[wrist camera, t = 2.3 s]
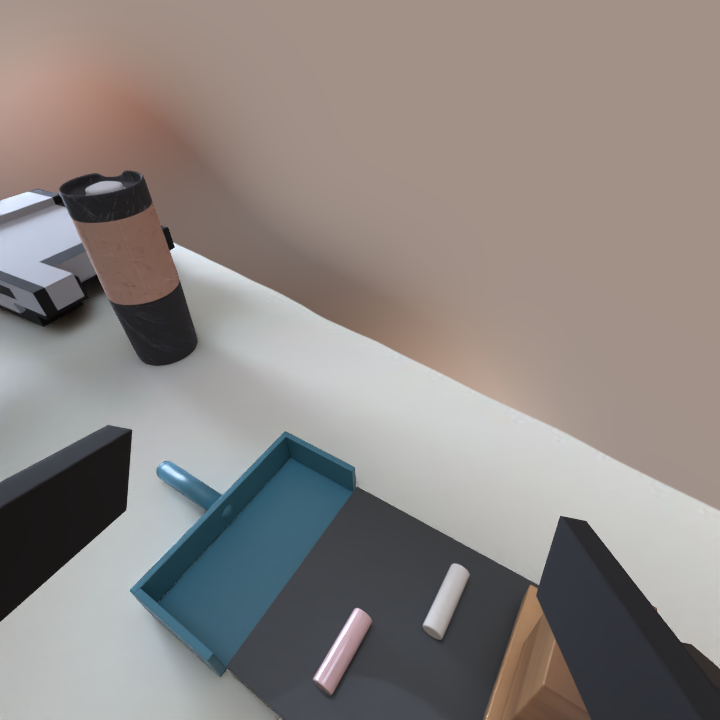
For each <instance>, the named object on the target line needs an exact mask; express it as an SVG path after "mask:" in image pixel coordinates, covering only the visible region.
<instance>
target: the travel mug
mask: <svg viewBox="0 0 720 720" xmlns="http://www.w3.org/2000/svg"><path fill="white" fill-rule="evenodd" d="M59 193H60V196H61V198H62V200H63V202H64V205H65V207H66V209H67V211H68V213H69V215H70V217H71V220H72V222H73V224H74V226H75V228H76V231H77V233H78V235H79V237H80V239H81V241H82V244H83V246H84V248H85V250H86V252H87V254H88V257H89V259H90V261H91V263H92V265H93V267H94V270H95V272H96V274H97V276H98V278H99V280H100V283H101V285H102V287H103V289H104V291H105V293H106V296H107V297H108V300H109V302H110V304H111V305H112V307H113V309H114V311H115V313H116V315H117V317H118V319H119V321H120V323H121V325H122V327H123V329H124V330H125V332H126V334H127V336H128V338H129V340H130V342H131V344H132V346H133V348H134V350H135V351H136V353H137V355H138V357H139V358H140V359H141V360H142V361H143V362H145V363H147V364H151V365H165V364H170V363H173V362H176V361H179V360H181V359H183V358H184V357H186V356H188V355H189V354H190V353H191V352H192V351H193V350H194V349H195V347H196V345H197V337H196V333H195V329H194V326H193V323H192V319H191V316H190V313H189V309H188V306H187V303H186V299H185V296H184V293H183V289H182V286H181V283H180V280H179V276H178V273H177V270H176V268H175V265H174V262H173V259H172V256H171V253H170V250H169V248H168V245H167V242H166V239H165V236H164V233H163V230H162V228H161V225H160V222H159V219H158V216H157V213H156V210H155V208H154V205H153V202H152V199H151V196H150V193H149V191H148V188H147V185H146V182H145V179H144V177H143V176H142V175H141V174H140V173H138V172H135V171H124V172H123V173H122V175H120V176H116V177H104V176H102V175H100V174H97V173H93V174H88V175H84V176H81V177H77V178H75V179H72V180H70V181H68V182H66V183H64V184H63V185H62V186H61V187H60V188H59Z"/></svg>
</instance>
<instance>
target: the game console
mask: <svg viewBox="0 0 720 720" xmlns="http://www.w3.org/2000/svg"><path fill="white" fill-rule="evenodd" d="M161 228H162V230H163V233H164V236H165V239H166V242H167V245H168V248H169V250H171V249H173V248H175V247H174V244H173V241H172V238H171V235H170V232H169V229H168V227H165V226H161ZM95 275H97V274H96V272H95V270H94V267H93V265H92V263H91V261H90V259H89V257H88V254H87V252H86V250H85V248H84V246H83V244H82V241H81V239H80V237H79V235H78V233H77V231H76V228H75V226H74V224H73V222H72V220H71V217H70V215H69V213H68V211H67V209H66V207H65V205H64V202H63V200H62V198H61V196H60V194H56V193H52V192H48V191H44V190H40V189H35V190H32V191H29V192H26V193H23V194H20V195H17V196H14V197H11V198H8V199H5V200H1V201H0V308H2V309H4V310H6V311H9V312H11V313H13V314H16V315H18V316H20V317H23V318H25V319H27V320H29V321H32V322H34V323H36V324H39V325H41V326H43V327H44V326H46V325H47V324H49V323H51V322H53V321H55V320H56V319H58V318H60V317H62V316H64V315H66V314H67V313H69V312H71V311H73V310H75V309H76V308H78V307H80V306H82V305H83V303H82V302H83V301H85V300H87V299H88V298H89V297H88V295H87V293H86V291H85V289H84V287H83V285H82V282H83V281H85V280H87V279H89V278H91V277H93V276H95Z"/></svg>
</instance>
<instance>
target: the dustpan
mask: <svg viewBox="0 0 720 720" xmlns="http://www.w3.org/2000/svg"><path fill="white" fill-rule="evenodd" d="M290 457H291V458H290ZM289 458H290V459H289ZM288 459H289V460H288ZM287 460H288V461H287ZM286 461H287V462H286ZM281 467H282V468H281ZM280 468H281V469H280ZM279 469H280V470H279ZM278 470H279V471H278ZM277 471H278V472H277ZM276 472H277V473H276ZM156 473H157V476H158V477H159V478H160V479H162V480H163V481H164V482H166V483H167V484H169V485H170V486H172V487H173V488H175V489H176V490H177V491H179V492H180V493H182V494H183V495H185V496H186V497H187V498H189V499H190V500H192V501H193V502H195V503H196V504H198V505H199V506H200V507H202V508H203V509H205V510H206V511H207V512H206V513H205V514H204V515H203V516H202V517H201V518H200V519H199V520H198V521H197V522H196V523H195V524H194V525H193V526H192V527H191V528H190V529H189V530H188V531H187V532H186V533H185V534H184V535H183V536H182V537H181V538H180V539H179V540H178V541H177V542H176V543H175V544H174V545H173V546H172V547H171V548H170V549H169V550H168V552H167V553H166V554H165V555H164V556H163V557H162V558H161V559H160V560H159V561H158V562H157V563H156V564H155V565H154V566H153V567H152V568H151V569H150V570H149V571H148V572H147V573H146V574H145V575H144V576H143V577H142V578H141V579H140V580H139V581H138V582H137V583H136V584H135V585H134V586H133V587H132V588H131V589H130V592H131V593H132V594H133V595H134V596H135V597H136V598H137V600H138V601H139V602H140V603H141V604H142V605H143V606H144V607H145V608H146V609H147V610H148V611H149V612H150V613H151V614H152V615H153V616H154V617H155V618H156V619H157V620H158V621H160V622H161V623H162V624H163V625H164V626H165V627H166V628H167V629H168V630H169V631H171V632H172V633H173V634H174V635H175V636H176V637H177V638H178V639H179V640H180V641H181V642H183V643H184V644H185V645H186V646H187V647H188V648H189V649H190V650H191V651H192V652H194V653H195V654H196V655H197V656H198V657H199V658H200V659H201V660H202V661H203V662H204V663H206V664H207V665H208V666H209V667H210V668H211V669H212V670H213V671H214V672H215V673H217V674H218V675H219V676H220V677H221V676H222V674H223V673H224V671H225V670H226V669H227V667H226V666H227V664H228V663H229V661H230V660H231V659H232V657H233V656H234V655H235V653H236V652H237V650H238V649H239V648H240V646H241V645H242V644H243V642H244V641H245V639H246V638H247V637H248V635H249V634H250V633H251V631H252V630H253V629H254V627H255V626H256V624H257V623H258V622H259V620H260V619H261V618H262V616H263V615H264V613H265V612H266V611H267V609H268V608H269V607H270V605H271V604H272V602H273V601H274V600H275V598H276V597H277V596H278V594H279V593H280V592H281V590H282V589H283V587H284V586H285V585H286V583H287V582H288V581H289V579H290V578H291V576H292V575H293V574H294V572H295V571H296V570H297V568H298V567H299V566H300V564H301V563H302V561H303V560H304V559H305V557H306V556H307V555H308V553H309V552H310V550H311V549H312V548H313V546H314V545H315V544H316V542H317V541H318V539H319V538H320V537H321V535H322V534H323V533H324V531H325V530H326V529H327V527H328V526H329V524H330V523H331V522H332V520H333V519H334V518H335V516H336V515H337V513H338V512H339V511H340V509H341V508H342V507H343V505H344V504H345V502H346V501H347V500H348V498H349V497H350V496H351V494H352V493H353V492H354V490H355V489H356V477H355V467H353V466H351V465H349V464H347V463H345V462H344V461H342V460H340V459H338V458H336V457H334V456H332V455H330V454H328V453H326V452H324V451H322V450H321V449H319V448H317V447H315V446H313V445H311V444H309V443H307V442H305V441H303V440H301V439H299V438H298V437H296V436H294V435H292V434H289V433H288V432H286V431H285V432H284V433H283V434H282V435H281V436H280V437H279V438H278V439H277V440H276V441H275V442H274V443H273V444H272V445H271V446H270V447H269V448H268V449H267V450H266V451H265V452H264V453H263V454H262V455H261V456H260V457H259V458H258V459H257V461H256V462H255V463H254V464H253V465H252V466H251V467H250V468H249V469H248V470H247V471H246V472H245V473H244V474H243V475H242V476H241V477H240V478H239V479H238V480H237V481H236V482H235V483H234V484H233V485H232V486H231V487H230V488H229V489H228V490H227V491H226V492H225V493H224V494H223V495H221V494H220V493H218V492H217V491H215V490H214V489H212V488H211V487H209V486H208V485H206V484H204V483H203V482H201V481H200V480H198V479H197V478H195V477H194V476H192V475H191V474H189V473H188V472H186V471H185V470H183V469H182V468H180V467H179V466H177V465H176V464H174V463H173V462H170V461H164V462H162V463H160V464H159V466H158V467H157V470H156ZM275 473H276V474H275ZM270 479H271V480H270ZM269 480H270V481H269ZM268 481H269V482H268ZM267 482H268V483H267ZM266 483H267V484H266ZM265 484H266V485H265ZM264 485H265V486H264ZM260 490H261V491H260ZM259 491H260V492H259ZM258 492H259V493H258ZM257 493H258V494H257ZM256 494H257V495H256ZM255 495H256V496H255ZM254 496H255V497H254ZM250 501H251V502H250ZM249 502H250V503H249ZM248 503H249V504H248ZM247 504H248V505H247ZM246 505H247V506H246ZM245 506H246V507H245ZM244 507H245V508H244ZM243 508H244V509H243ZM239 513H240V514H239ZM238 514H239V515H238ZM237 515H238V516H237ZM236 516H237V517H236ZM235 517H236V518H235ZM234 518H235V519H234ZM233 519H234V520H233ZM232 520H233V521H232ZM229 524H230V525H229ZM228 525H229V526H228ZM227 526H228V527H227ZM226 527H227V528H226ZM225 528H226V529H225ZM224 529H225V530H224ZM223 530H224V531H223ZM222 531H223V532H222ZM218 536H219V537H218ZM217 537H218V538H217ZM216 538H217V539H216ZM215 539H216V540H215ZM214 540H215V541H214ZM213 541H214V542H213ZM212 542H213V543H212ZM211 543H212V544H211ZM208 547H209V548H208ZM207 548H208V549H207ZM206 549H207V550H206ZM205 550H206V551H205ZM204 551H205V552H204ZM203 552H204V553H203ZM202 553H203V554H202ZM201 554H202V555H201ZM200 555H201V556H200ZM197 559H198V560H197ZM196 560H197V561H196ZM195 561H196V562H195ZM194 562H195V563H194ZM193 563H194V564H193ZM192 564H193V565H192ZM191 565H192V566H191ZM190 566H191V567H190ZM187 570H188V571H187ZM186 571H187V572H186ZM185 572H186V573H185ZM184 573H185V574H184ZM183 574H184V575H183ZM182 575H183V576H182ZM181 576H182V577H181ZM180 577H181V578H180ZM179 578H180V579H179ZM176 582H177V583H176ZM175 583H176V584H175ZM174 584H175V585H174ZM173 585H174V586H173ZM172 586H173V587H172ZM171 587H172V588H171ZM170 588H171V589H170ZM169 589H170V590H169ZM166 593H167V594H166ZM165 594H166V595H165ZM164 595H165V596H164ZM163 596H164V597H163ZM162 597H163V598H162ZM161 598H162V599H161ZM160 599H161V600H160ZM159 600H160V601H159ZM158 601H159V602H158Z"/></svg>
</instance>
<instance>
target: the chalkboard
mask: <svg viewBox="0 0 720 720" xmlns="http://www.w3.org/2000/svg"><path fill="white" fill-rule="evenodd" d="M453 563H455V564H459V565H461V566H463V567H464V568H465V569H467V570H468V572H469V574H470V577H469V579H468V581H467V584H466V586H465V588H464V590H463V593H462V595H461V597H460V600H459V602H458V604H457V607H456V609H455V611H454V614H453V616H452V618H451V621H450V623H449V625H448V628H447V630H446V632H445V634H444V637H443V639H442V640H438V639H435V638H433V637H432V636H430V635H429V634H428V633H427V632H426V631H425V630H424V629H423V623H424V621H425V619H426V617H427V615H428V612H429V610H430V608H431V606H432V604H433V602H434V600H435V598H436V595H437V593H438V591H439V589H440V587H441V585H442V583H443V581H444V579H445V576H446V574H447V572H448V570H449V568H450V566H451V564H453ZM530 585H532V586H534V587H536V588H538V587H539V585H537V584H535V583H533V582H532V581H530V580H528V579H526V578H524V577H522V576H521V575H519V574H517V573H515V572H513V571H511V570H509V569H508V568H506V567H504V566H502V565H500V564H498V563H497V562H495V561H493V560H491V559H489V558H487V557H486V556H484V555H482V554H480V553H478V552H476V551H475V550H473V549H471V548H469V547H467V546H465V545H463V544H462V543H460V542H458V541H456V540H454V539H452V538H451V537H449V536H447V535H445V534H443V533H441V532H440V531H438V530H436V529H434V528H432V527H430V526H429V525H427V524H425V523H423V522H421V521H419V520H417V519H416V518H414V517H412V516H410V515H408V514H406V513H405V512H403V511H401V510H399V509H397V508H395V507H394V506H392V505H390V504H388V503H386V502H384V501H383V500H381V499H379V498H377V497H375V496H373V495H371V494H370V493H368V492H366V491H364V490H362V489H360V488H359V487H356V489H355V490H354V492H353V493H352V494H351V496H350V497H349V498H348V500H347V501H346V502H345V504H344V505H343V507H342V508H341V509H340V511H339V512H338V513H337V515H336V516H335V518H334V519H333V520H332V522H331V523H330V524H329V526H328V527H327V529H326V530H325V531H324V533H323V534H322V535H321V537H320V538H319V539H318V541H317V542H316V544H315V545H314V546H313V548H312V549H311V550H310V552H309V553H308V555H307V556H306V557H305V559H304V560H303V561H302V563H301V564H300V566H299V567H298V568H297V570H296V571H295V572H294V574H293V575H292V576H291V578H290V579H289V581H288V582H287V583H286V585H285V586H284V587H283V589H282V590H281V592H280V593H279V594H278V596H277V597H276V598H275V600H274V601H273V602H272V604H271V605H270V607H269V608H268V609H267V611H266V612H265V613H264V615H263V616H262V618H261V619H260V620H259V622H258V623H257V624H256V626H255V627H254V629H253V630H252V631H251V633H250V634H249V635H248V637H247V638H246V639H245V641H244V642H243V644H242V645H241V646H240V648H239V649H238V650H237V652H236V653H235V655H234V656H233V657H232V659H231V660H230V661H229V663H228V664H227V666H226V667H227V668H228V669H229V671H230V672H231V673H232V674H233V675H234V676H235V677H236V678H237V679H238V680H240V681H241V682H242V683H243V684H244V685H245V686H246V687H247V688H248V689H250V690H251V691H252V692H253V693H254V694H255V695H256V696H257V697H259V698H260V699H261V700H262V701H263V702H264V703H265V704H266V705H267V706H269V707H270V708H271V709H272V710H273V711H274V712H275V713H276V714H278V715H279V716H280V717H281V718H282V719H283V720H482V719H483V716H484V713H485V710H486V707H487V704H488V701H489V698H490V695H491V692H492V689H493V686H494V683H495V680H496V677H497V674H498V671H499V668H500V665H501V662H502V659H503V656H504V653H505V650H506V646H507V643H508V640H509V637H510V634H511V631H512V628H513V625H514V622H515V619H516V616H517V613H518V610H519V607H520V604H521V601H522V599H523V597H524V595H525V593H526V591H527V590H528V588H529V586H530ZM355 608H359V609H361V610H363V611H364V612H366V613H367V614H368V615H369V616H370V617H371V619H372V624H371V626H370V628H369V629H368V631H367V633H366V635H365V637H364V638H363V640H362V642H361V644H360V646H359V647H358V649H357V651H356V653H355V655H354V657H353V658H352V660H351V662H350V664H349V666H348V667H347V669H346V671H345V673H344V675H343V676H342V678H341V680H340V682H339V684H338V685H337V687H336V689H335V691H334V693H333V694H332V695H328V694H327V693H325V692H324V691H323V690H321V689H320V688H319V687H318V686H317V685H316V684H315V683H314V681H313V678H314V676H315V674H316V672H317V671H318V669H319V667H320V666H321V664H322V662H323V661H324V659H325V657H326V656H327V654H328V652H329V651H330V649H331V647H332V645H333V644H334V642H335V640H336V639H337V637H338V635H339V634H340V632H341V630H342V629H343V627H344V625H345V624H346V622H347V620H348V618H349V617H350V615H351V613H352V612H353V610H354V609H355Z"/></svg>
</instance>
